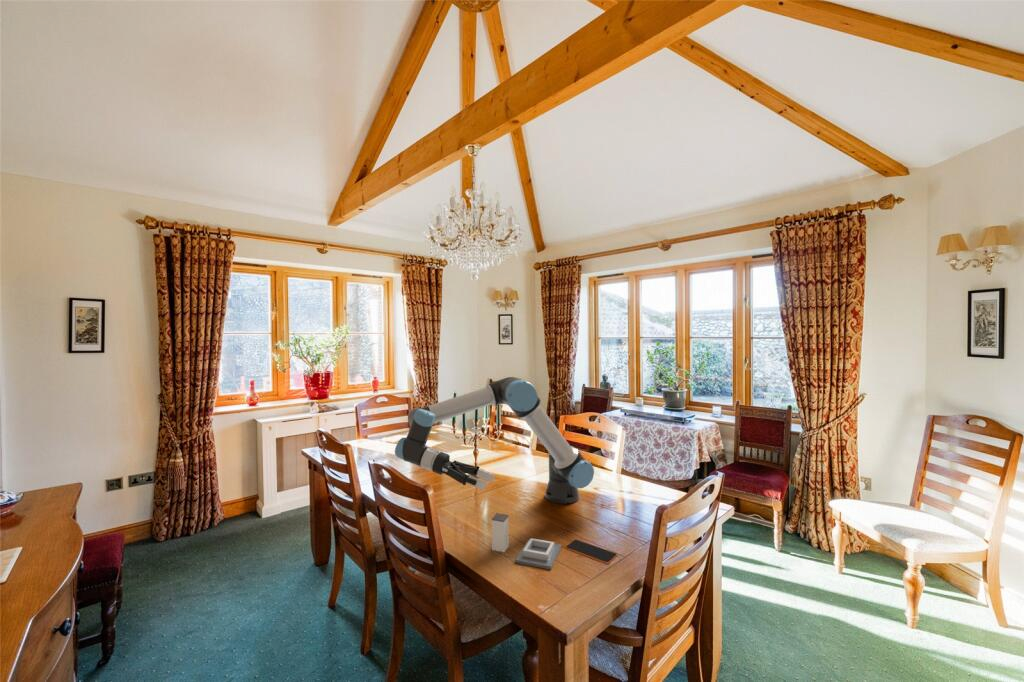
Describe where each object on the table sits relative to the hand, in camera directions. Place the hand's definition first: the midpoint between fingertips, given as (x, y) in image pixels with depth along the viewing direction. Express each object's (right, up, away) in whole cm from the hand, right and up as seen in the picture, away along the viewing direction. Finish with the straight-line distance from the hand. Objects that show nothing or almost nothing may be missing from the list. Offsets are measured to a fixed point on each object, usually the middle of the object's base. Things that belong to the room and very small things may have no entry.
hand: (489, 482), depth 148 cm
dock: (+17, -22, -8) cm, 29 cm away
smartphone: (+35, -22, -6) cm, 42 cm away
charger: (+4, -22, -3) cm, 22 cm away
